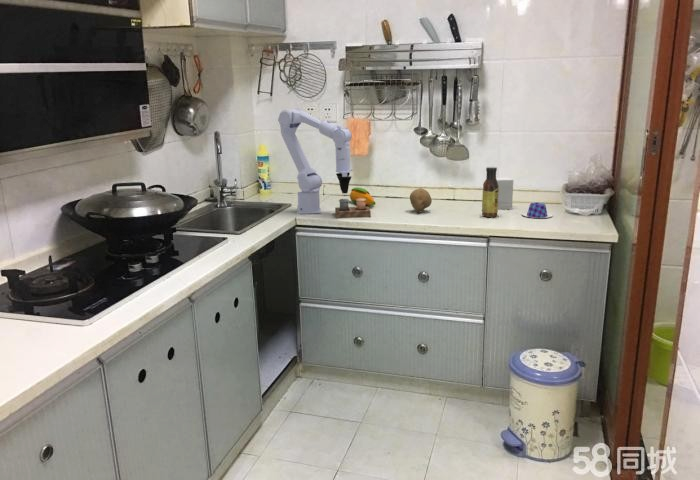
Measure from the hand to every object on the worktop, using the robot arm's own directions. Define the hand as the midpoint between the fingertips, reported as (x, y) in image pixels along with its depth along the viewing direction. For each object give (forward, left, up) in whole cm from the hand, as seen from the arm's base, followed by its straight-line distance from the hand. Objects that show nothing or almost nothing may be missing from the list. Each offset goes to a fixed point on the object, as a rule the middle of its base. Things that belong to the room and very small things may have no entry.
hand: (344, 191), depth 243 cm
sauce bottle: (+58, -10, -10) cm, 60 cm away
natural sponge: (+32, +2, -10) cm, 34 cm away
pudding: (+77, -12, -11) cm, 79 cm away
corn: (+10, +20, -10) cm, 25 cm away
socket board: (+3, 0, -10) cm, 10 cm away
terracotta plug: (+7, 0, -7) cm, 10 cm away
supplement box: (+68, +5, -10) cm, 69 cm away
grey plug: (0, 0, -7) cm, 7 cm away
